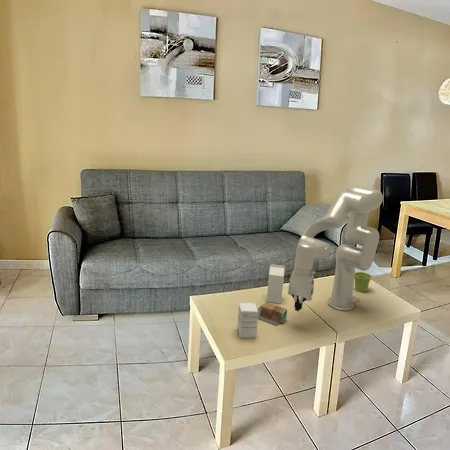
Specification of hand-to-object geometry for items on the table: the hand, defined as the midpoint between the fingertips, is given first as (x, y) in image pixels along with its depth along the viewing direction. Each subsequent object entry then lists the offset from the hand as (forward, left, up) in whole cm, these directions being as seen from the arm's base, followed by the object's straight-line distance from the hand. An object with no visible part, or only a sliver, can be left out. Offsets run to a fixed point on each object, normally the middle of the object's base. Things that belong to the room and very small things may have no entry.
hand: (297, 309), depth 170 cm
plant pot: (-51, -32, -9) cm, 61 cm away
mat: (+10, -11, -9) cm, 17 cm away
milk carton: (+1, -26, -9) cm, 28 cm away
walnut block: (+4, -5, -6) cm, 8 cm away
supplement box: (+23, +2, -9) cm, 25 cm away
